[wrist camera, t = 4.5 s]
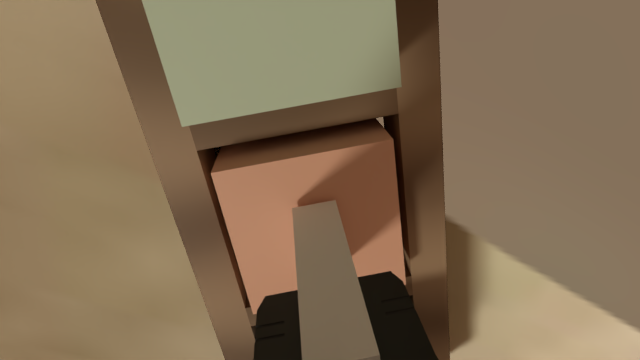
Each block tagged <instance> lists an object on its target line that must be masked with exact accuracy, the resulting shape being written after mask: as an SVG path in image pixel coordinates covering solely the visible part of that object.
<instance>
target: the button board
mask: <svg viewBox="0 0 640 360" xmlns="http://www.w3.org/2000/svg"><path fill="white" fill-rule="evenodd" d="M96 3H97V6H98V8H99V11H100V14H101V17H102V20H103V22H104V25H105V28H106V31H107V33H108V36H109V39H110V42H111V44H112V47H113V50H114V53H115V56H116V58H117V61H118V64H119V67H120V69H121V72H122V75H123V78H124V80H125V83H126V86H127V89H128V92H129V94H130V97H131V100H132V103H133V105H134V108H135V111H136V114H137V117H138V119H139V122H140V125H141V128H142V130H143V133H144V136H145V139H146V141H147V144H148V147H149V150H150V153H151V155H152V158H153V161H154V164H155V166H156V169H157V172H158V175H159V177H160V180H161V183H162V186H163V189H164V191H165V194H166V197H167V200H168V202H169V205H170V208H171V211H172V213H173V216H174V219H175V222H176V225H177V227H178V230H179V233H180V236H181V238H182V241H183V244H184V247H185V249H186V252H187V255H188V258H189V261H190V263H191V266H192V269H193V272H194V274H195V277H196V280H197V283H198V285H199V288H200V291H201V294H202V297H203V299H204V302H205V305H206V308H207V310H208V313H209V316H210V319H211V321H212V324H213V327H214V330H215V333H216V335H217V338H218V341H219V344H220V346H221V349H222V352H223V355H224V358H225V360H253V358H254V344H255V330H256V316H257V314H253V312H252V309H251V306H250V302H249V299H248V296H247V292H246V289H245V286H244V282H243V279H242V276H241V272H240V269H239V266H238V262H237V259H236V256H235V253H234V249H233V246H232V243H231V239H230V236H229V233H228V229H227V226H226V223H225V219H224V216H223V213H222V209H221V206H220V203H219V199H218V196H217V193H216V189H215V186H214V183H213V179H212V176H211V171H212V168H213V166H214V163H215V161H216V154H215V151H214V148H215V147H220V146H225V145H231V144H236V143H242V142H247V141H253V140H258V139H264V138H269V137H274V136H280V135H285V134H291V133H296V132H302V131H307V130H312V129H318V128H323V127H329V126H334V125H340V124H345V123H351V122H356V121H361V120H367V119H372V118H378V117H383V119H384V129H385V130H386V131H387V132H388V134H389V135H390V136H391V137H392V138H393V141H394V152H395V164H396V175H397V187H398V198H399V210H400V221H401V232H402V244H403V255H404V267H405V278H406V285H405V287H406V289H407V291H408V294H409V297H410V298H411V300H412V303H413V305H414V308H415V310H416V312H417V314H418V316H419V318H420V321H421V323H422V325H423V327H424V330H425V332H426V334H427V336H428V339H429V341H430V343H431V345H432V348H433V350H434V352H435V354H436V356H437V358H438V359H439V360H450V352H449V322H448V292H447V262H446V232H445V202H444V174H443V142H442V112H441V84H440V83H441V82H440V52H439V25H438V23H439V22H438V0H395V4H396V18H397V31H398V45H399V58H400V72H401V85H402V87H399V88H393V89H388V90H382V91H377V92H371V93H366V94H360V95H355V96H349V97H344V98H338V99H333V100H327V101H322V102H316V103H311V104H305V105H300V106H294V107H289V108H283V109H278V110H273V111H267V112H262V113H256V114H251V115H245V116H240V117H234V118H229V119H223V120H218V121H212V122H207V123H201V124H196V125H190V126H185V127H182V126H181V123H180V119H179V116H178V113H177V110H176V107H175V104H174V101H173V97H172V94H171V91H170V88H169V85H168V82H167V78H166V75H165V72H164V69H163V66H162V63H161V59H160V56H159V53H158V50H157V47H156V44H155V41H154V37H153V34H152V31H151V28H150V25H149V22H148V18H147V15H146V12H145V9H144V6H143V3H142V0H96Z"/></svg>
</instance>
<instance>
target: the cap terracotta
mask: <svg viewBox="0 0 640 360" xmlns="http://www.w3.org/2000/svg"><path fill="white" fill-rule="evenodd" d="M211 176H212V179H213V183H214V186H215V189H216V193H217V196H218V199H219V203H220V206H221V209H222V213H223V216H224V219H225V223H226V226H227V229H228V233H229V236H230V239H231V243H232V246H233V249H234V253H235V256H236V259H237V262H238V266H239V269H240V272H241V276H242V279H243V282H244V286H245V289H246V292H247V296H248V299H249V302H250V306H251V309H252V312H253V314H257V310H258V308H259V306H260V304H261V303H262V301H263V299H264V297H265V296H268V295H274V294H279V293H284V292H289V291H295V290H298V289H297V274H296V259H295V244H294V228H293V213H292V208H295V207H300V206H305V205H311V204H316V203H321V202H327V201H332V200H336V204H337V207H338V211H339V214H340V218H341V221H342V225H343V228H344V232H345V235H346V239H347V242H348V246H349V249H350V253H351V256H352V260H353V263H354V267H355V270H356V273H357V277H361V276H367V275H372V274H377V273H382V272H387V271H391V272H392V273H393V274H395V275H396V276H397V277H398V278H399V279H401V280H402V281H403V283H404V285H406V278H405V267H404V255H403V244H402V232H401V221H400V210H399V198H398V187H397V175H396V164H395V152H394V141H393V138H392V137H391V136H390V135H389V134H388V132H387V131H386V130H385V129H384V128H383V126H382V125H381V124H380V123H379V122H378V121H377V120H376V118H372V119H367V120H361V121H356V122H351V123H345V124H340V125H334V126H329V127H323V128H318V129H312V130H307V131H302V132H296V133H291V134H285V135H280V136H274V137H269V138H264V139H258V140H253V141H247V142H242V143H236V144H231V145H225V146H221V148H220V151H219V153H218V156H217V158H216V161H215V163H214V166H213V168H212V171H211Z"/></svg>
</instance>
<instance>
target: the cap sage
mask: <svg viewBox="0 0 640 360" xmlns="http://www.w3.org/2000/svg"><path fill="white" fill-rule="evenodd" d="M142 3H143V6H144V9H145V12H146V15H147V18H148V22H149V25H150V28H151V31H152V34H153V37H154V41H155V44H156V47H157V50H158V53H159V56H160V59H161V63H162V66H163V69H164V72H165V75H166V78H167V82H168V85H169V88H170V91H171V94H172V97H173V101H174V104H175V107H176V110H177V113H178V116H179V119H180V123H181V126H182V127H185V126H190V125H196V124H201V123H207V122H212V121H218V120H223V119H229V118H234V117H240V116H245V115H251V114H256V113H262V112H267V111H273V110H278V109H283V108H289V107H294V106H300V105H305V104H311V103H316V102H322V101H327V100H333V99H338V98H344V97H349V96H355V95H360V94H366V93H371V92H377V91H382V90H388V89H393V88H399V87H402V85H401V72H400V58H399V45H398V31H397V18H396V4H395V0H142Z"/></svg>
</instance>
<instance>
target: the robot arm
mask: <svg viewBox="0 0 640 360" xmlns="http://www.w3.org/2000/svg"><path fill="white" fill-rule="evenodd" d="M292 213H293V228H294V244H295V259H296V274H297V289H298V290H295V291H289V292H284V293H279V294H274V295H268V296H265V297H264V299H263V301H262V303H261V304H260V306H259V308H258V310H257V316H256V330H255V344H254V358H253V360H439V359H438V358H437V356H436V354H435V352H434V350H433V348H432V345H431V343H430V341H429V339H428V336H427V334H426V332H425V330H424V327H423V325H422V323H421V321H420V318H419V316H418V314H417V312H416V310H415V308H414V305H413V303H412V300H411V298H410V297H409V294H408V291H407V289H406V287H405V285H404V283H403V281H402V280H401V279H399V278H398V277H397V276H396V275H395V274H393V273H392V272H391V271H387V272H382V273H377V274H372V275H367V276H361V277H357V273H356V270H355V267H354V263H353V260H352V256H351V253H350V249H349V246H348V242H347V239H346V235H345V232H344V228H343V225H342V221H341V218H340V214H339V211H338V207H337V204H336V200H332V201H327V202H321V203H316V204H311V205H305V206H300V207H295V208H292Z"/></svg>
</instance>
